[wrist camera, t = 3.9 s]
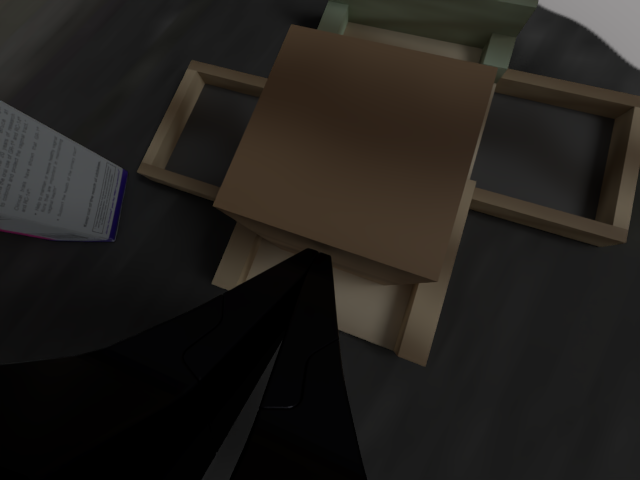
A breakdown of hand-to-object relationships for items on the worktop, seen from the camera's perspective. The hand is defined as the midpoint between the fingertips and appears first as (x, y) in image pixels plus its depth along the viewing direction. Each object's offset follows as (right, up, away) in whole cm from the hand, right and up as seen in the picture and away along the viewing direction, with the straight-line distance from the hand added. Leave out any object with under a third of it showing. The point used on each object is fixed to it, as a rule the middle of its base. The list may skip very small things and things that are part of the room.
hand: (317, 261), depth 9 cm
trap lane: (+3, +6, +10) cm, 12 cm away
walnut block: (+2, +2, +8) cm, 9 cm away
